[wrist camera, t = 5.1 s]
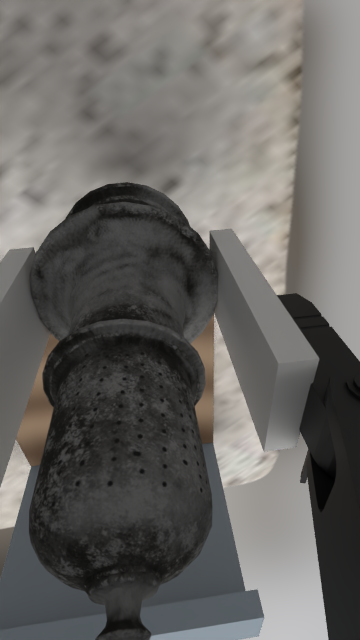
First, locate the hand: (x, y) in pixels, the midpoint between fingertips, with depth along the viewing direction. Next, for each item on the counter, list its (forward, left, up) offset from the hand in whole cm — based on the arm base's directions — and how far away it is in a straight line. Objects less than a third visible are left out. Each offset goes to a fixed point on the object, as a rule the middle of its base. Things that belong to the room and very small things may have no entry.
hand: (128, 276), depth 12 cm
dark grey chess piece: (0, 0, -2) cm, 2 cm away
